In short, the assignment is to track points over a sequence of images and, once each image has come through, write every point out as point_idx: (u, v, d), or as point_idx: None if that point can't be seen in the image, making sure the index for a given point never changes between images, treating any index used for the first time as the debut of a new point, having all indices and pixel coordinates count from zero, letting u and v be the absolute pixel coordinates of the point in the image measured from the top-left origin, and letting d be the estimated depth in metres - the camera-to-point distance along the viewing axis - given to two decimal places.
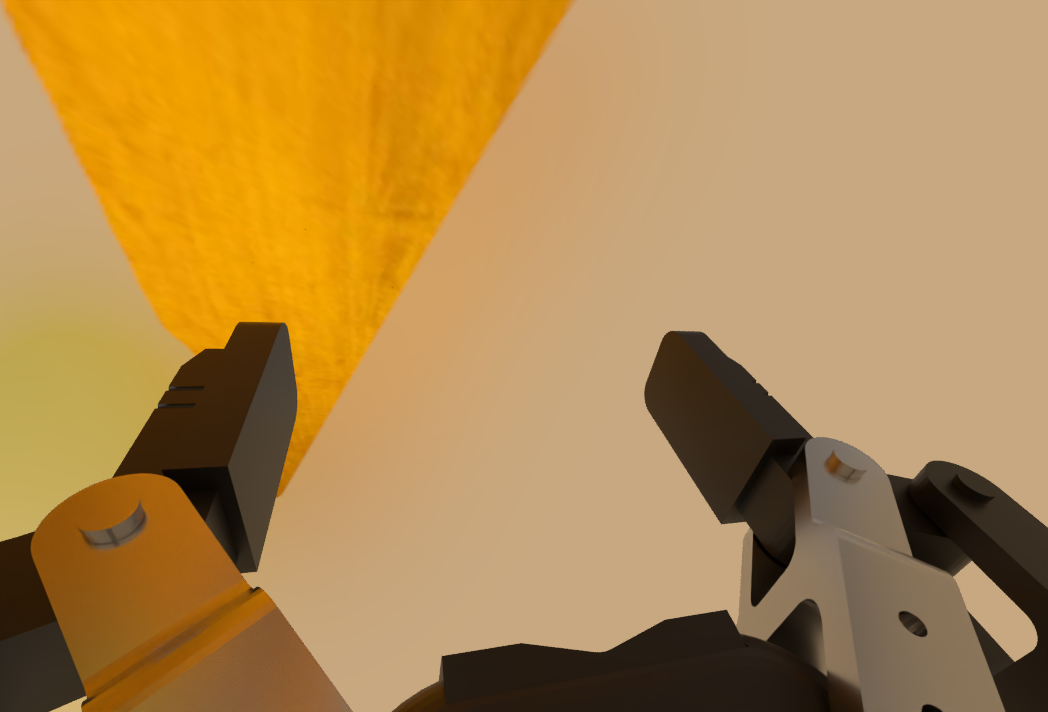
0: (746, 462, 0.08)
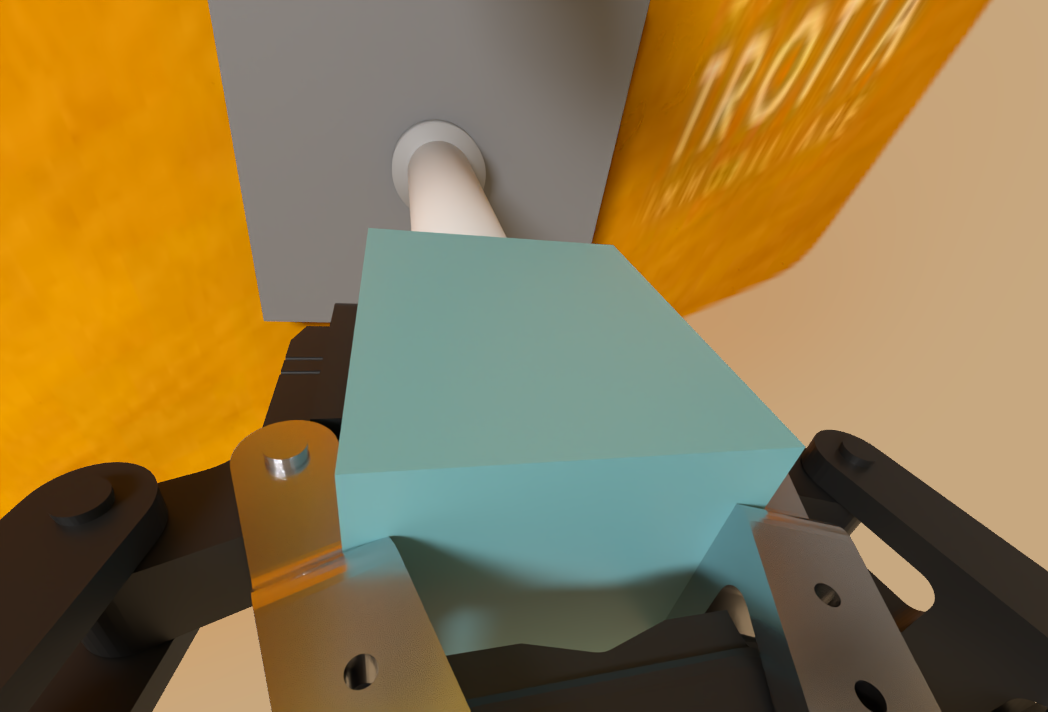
0: None
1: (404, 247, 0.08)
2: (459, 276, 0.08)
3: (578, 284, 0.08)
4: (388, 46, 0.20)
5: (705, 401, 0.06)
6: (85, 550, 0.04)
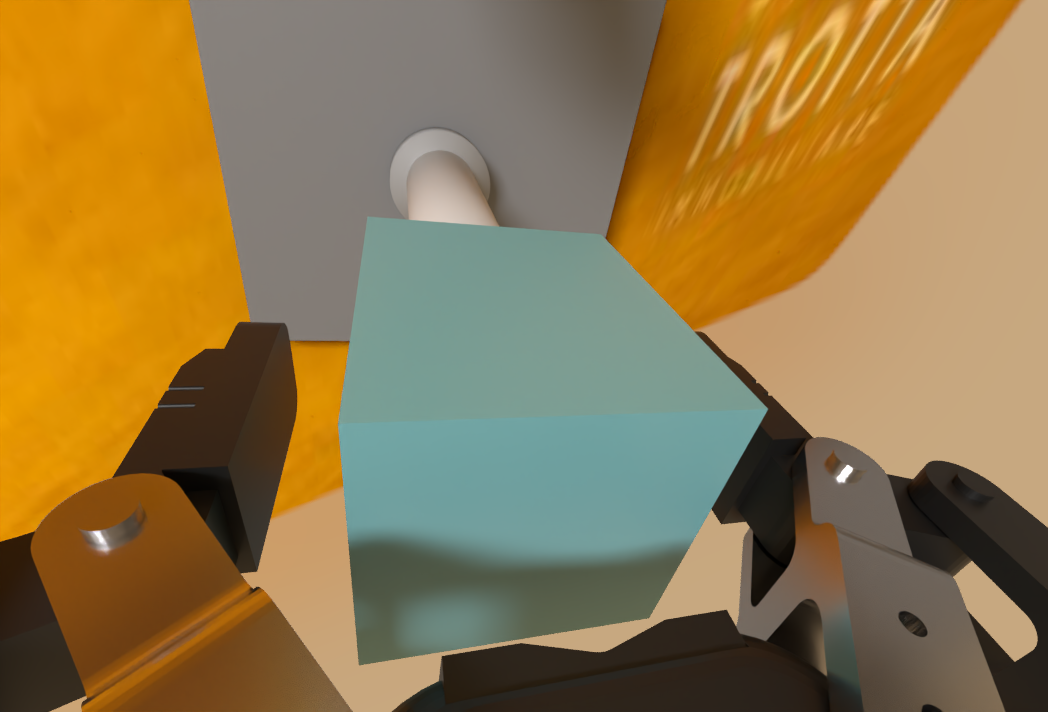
0: (746, 462, 0.08)
1: (401, 233, 0.09)
2: (453, 260, 0.08)
3: (565, 268, 0.09)
4: (386, 49, 0.19)
5: (678, 370, 0.06)
6: None
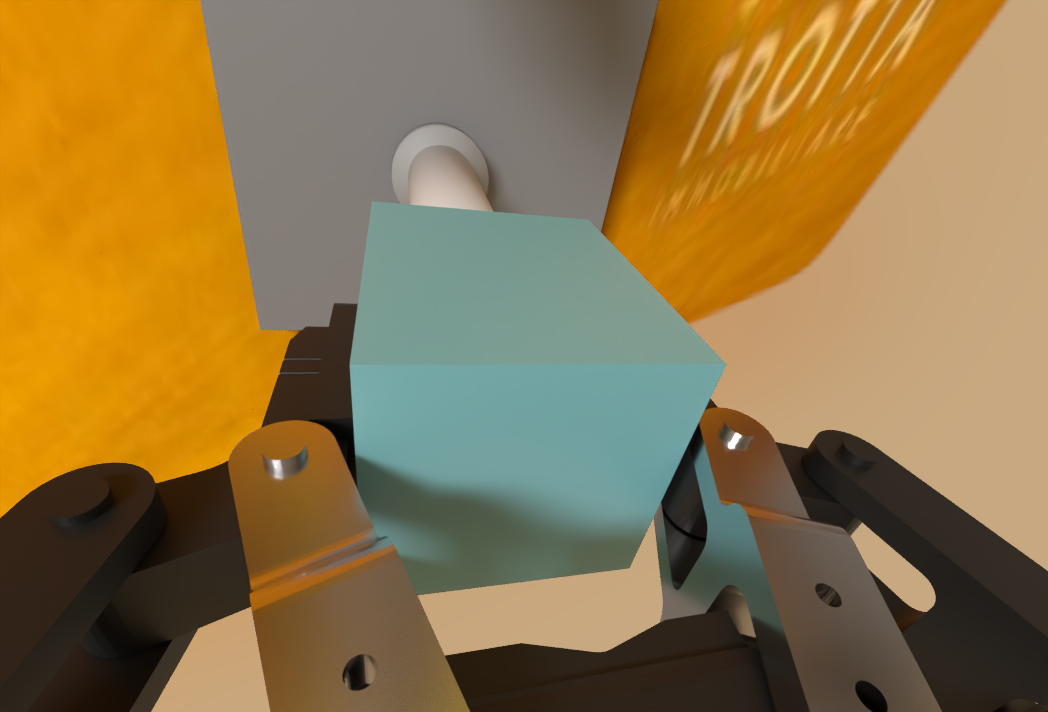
0: None
1: (403, 216, 0.10)
2: (450, 239, 0.09)
3: (553, 248, 0.09)
4: (388, 47, 0.19)
5: (649, 332, 0.07)
6: (83, 550, 0.04)
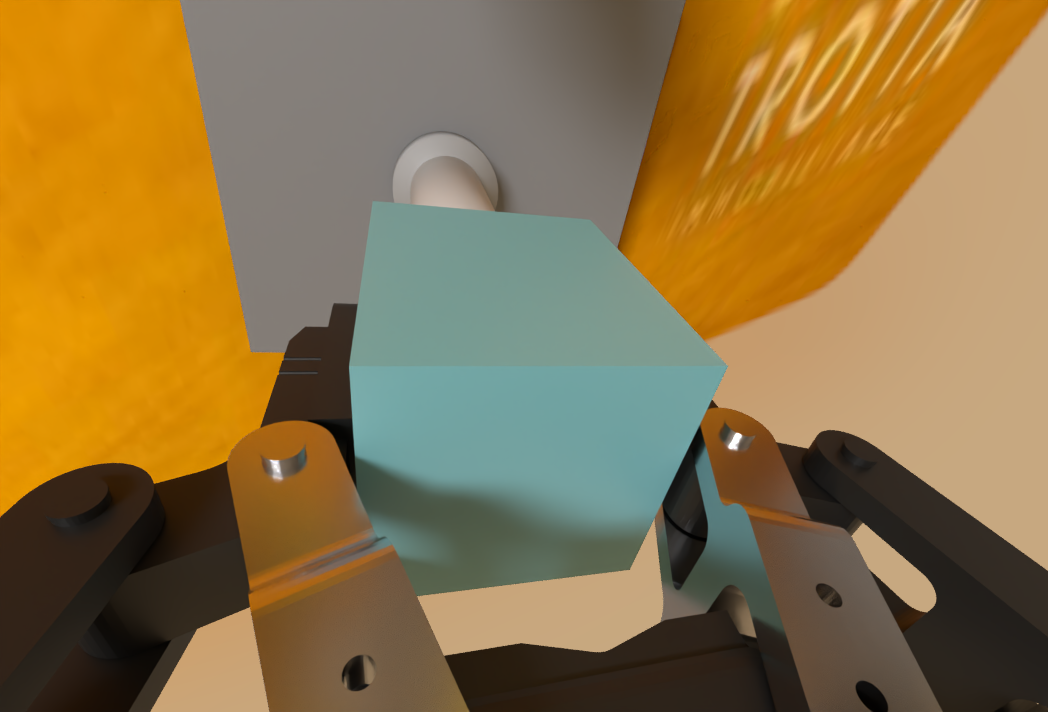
0: None
1: (404, 217, 0.10)
2: (451, 239, 0.09)
3: (554, 248, 0.09)
4: (389, 49, 0.18)
5: (650, 333, 0.07)
6: (81, 551, 0.04)
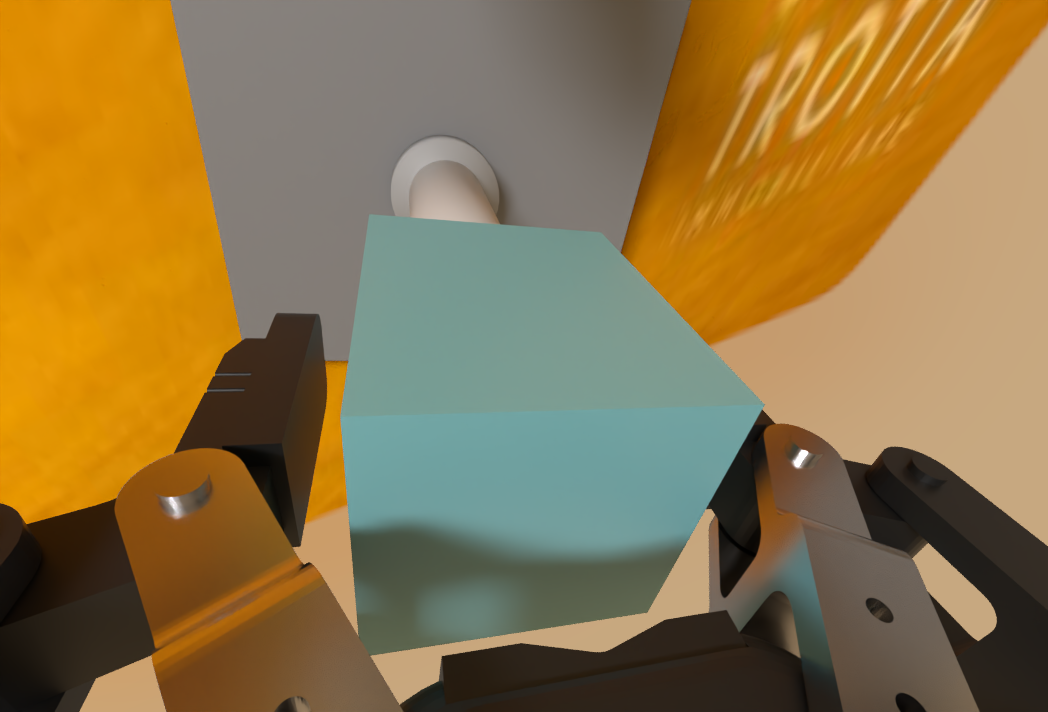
0: None
1: (402, 232, 0.09)
2: (454, 257, 0.08)
3: (565, 266, 0.09)
4: (387, 50, 0.17)
5: (675, 366, 0.06)
6: None
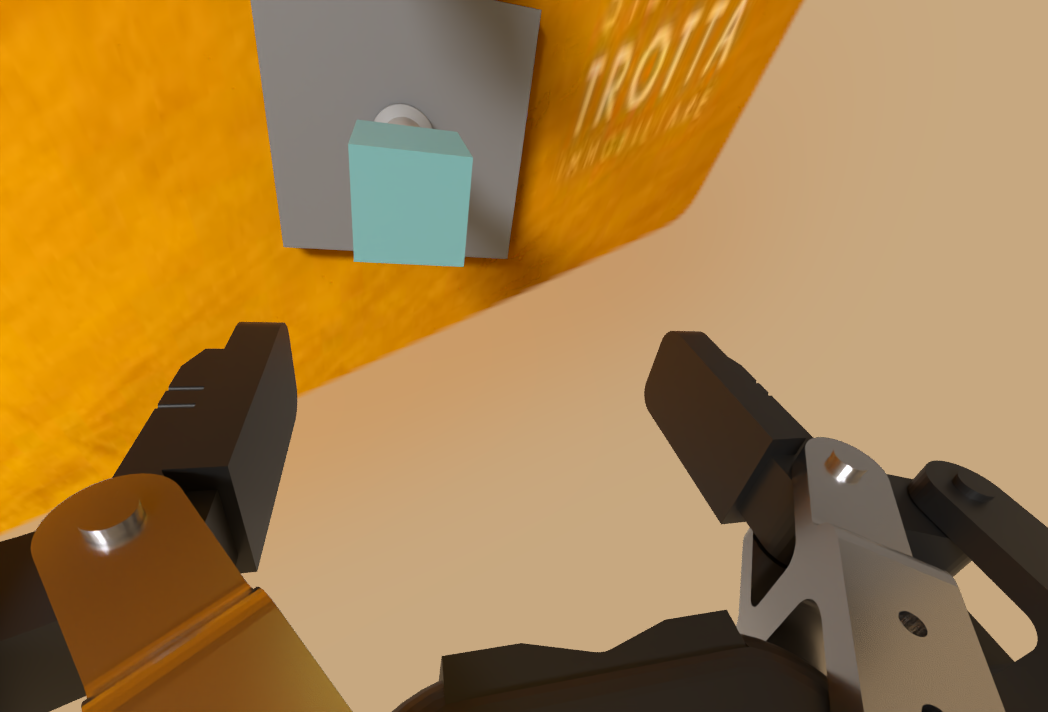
0: (746, 462, 0.08)
1: (369, 124, 0.23)
2: (387, 130, 0.22)
3: (431, 135, 0.23)
4: (368, 55, 0.31)
5: (451, 151, 0.20)
6: None
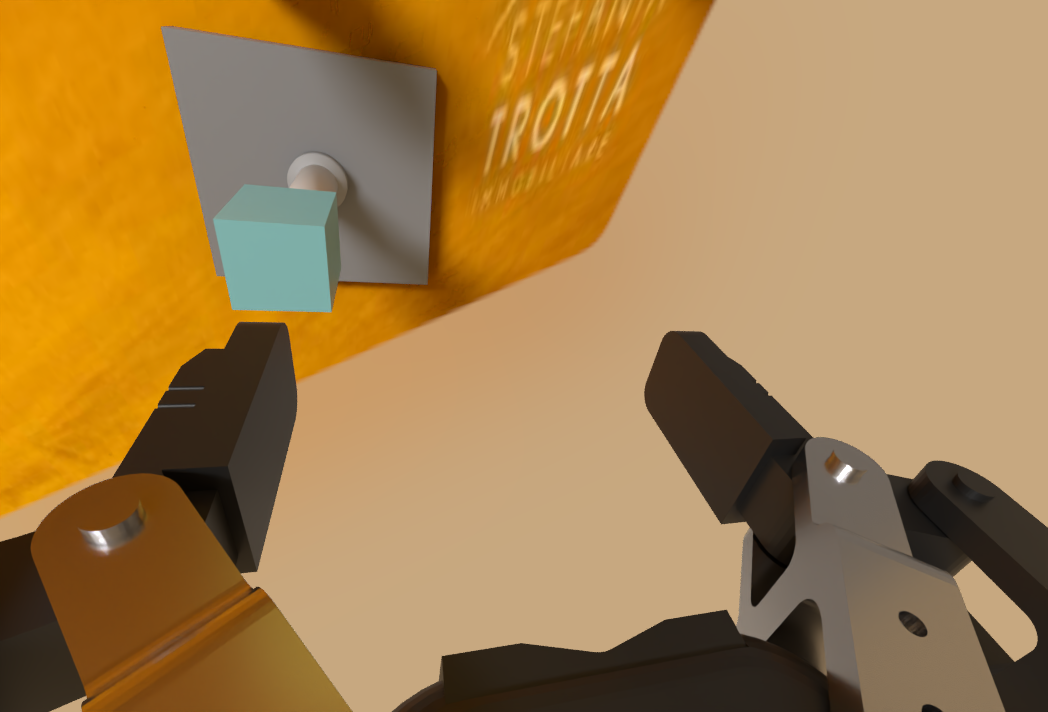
0: (746, 462, 0.08)
1: (253, 189, 0.27)
2: (265, 196, 0.26)
3: (305, 200, 0.27)
4: (280, 111, 0.35)
5: (309, 219, 0.24)
6: None
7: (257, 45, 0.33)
